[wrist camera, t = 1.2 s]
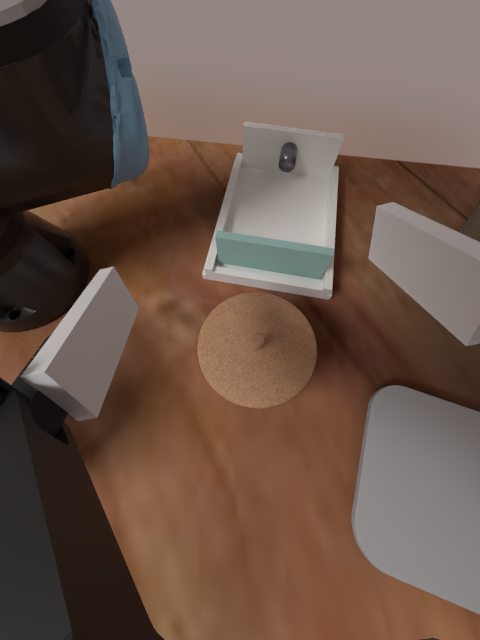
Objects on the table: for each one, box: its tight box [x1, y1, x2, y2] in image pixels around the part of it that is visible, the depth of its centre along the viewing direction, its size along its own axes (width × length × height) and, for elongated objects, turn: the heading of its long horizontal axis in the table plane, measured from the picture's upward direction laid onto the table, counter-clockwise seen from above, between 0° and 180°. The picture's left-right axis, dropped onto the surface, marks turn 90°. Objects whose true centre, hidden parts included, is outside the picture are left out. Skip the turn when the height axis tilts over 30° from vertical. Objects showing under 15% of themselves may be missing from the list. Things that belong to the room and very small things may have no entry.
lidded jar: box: [197, 292, 317, 409], centre depth 24 cm, size 11×11×9 cm
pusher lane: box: [202, 122, 344, 300], centre depth 33 cm, size 22×17×7 cm
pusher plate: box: [215, 230, 334, 279], centre depth 30 cm, size 1×13×5 cm, turn 79°
